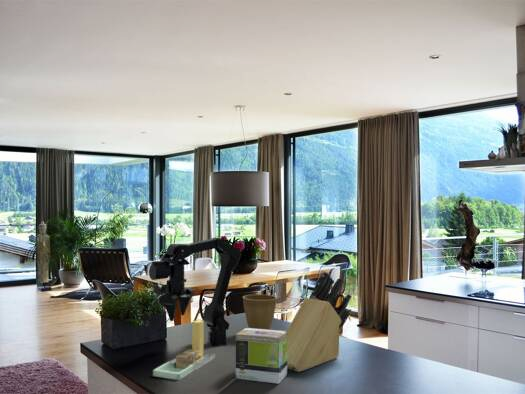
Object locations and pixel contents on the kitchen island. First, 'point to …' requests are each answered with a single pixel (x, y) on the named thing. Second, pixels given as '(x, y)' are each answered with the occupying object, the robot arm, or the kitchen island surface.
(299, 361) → the knife block
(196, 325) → the tall yellow pillar
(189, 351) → the maple block
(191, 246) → the robot arm
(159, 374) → the tray
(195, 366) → the slot rail
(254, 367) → the tea box
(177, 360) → the walnut block
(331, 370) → the kitchen island surface
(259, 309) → the plant pot
